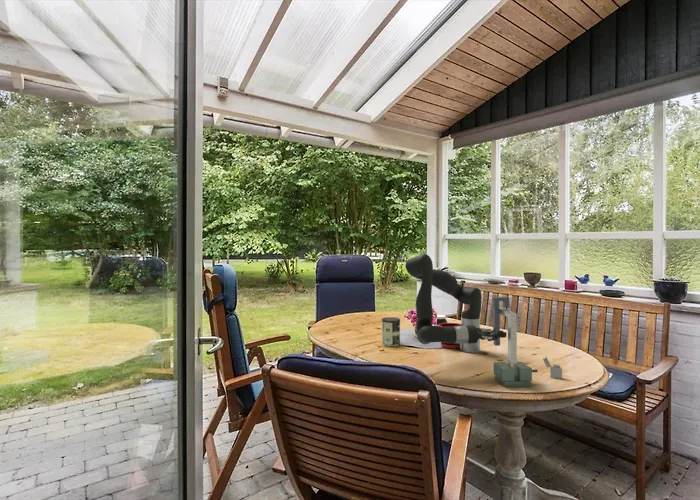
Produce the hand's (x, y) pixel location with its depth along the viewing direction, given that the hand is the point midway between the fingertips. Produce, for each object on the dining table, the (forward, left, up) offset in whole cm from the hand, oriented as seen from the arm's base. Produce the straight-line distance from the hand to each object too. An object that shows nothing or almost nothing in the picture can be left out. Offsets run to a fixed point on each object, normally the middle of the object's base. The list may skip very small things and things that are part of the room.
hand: (504, 334), depth 152 cm
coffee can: (-63, +11, -17) cm, 66 cm away
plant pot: (-34, +26, -17) cm, 46 cm away
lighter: (+17, +8, -17) cm, 25 cm away
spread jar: (-48, +47, -17) cm, 69 cm away
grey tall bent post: (+4, -4, -17) cm, 18 cm away
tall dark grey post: (-1, -1, -5) cm, 5 cm away
